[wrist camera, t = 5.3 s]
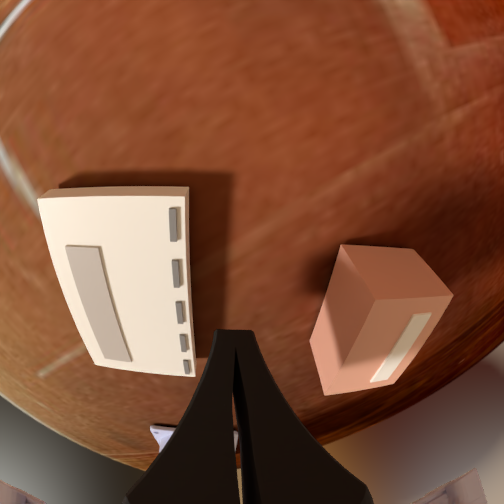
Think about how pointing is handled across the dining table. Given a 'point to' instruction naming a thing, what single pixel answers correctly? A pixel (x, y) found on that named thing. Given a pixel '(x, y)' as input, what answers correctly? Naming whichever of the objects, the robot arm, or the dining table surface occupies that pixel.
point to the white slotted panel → (125, 273)
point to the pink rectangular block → (375, 317)
